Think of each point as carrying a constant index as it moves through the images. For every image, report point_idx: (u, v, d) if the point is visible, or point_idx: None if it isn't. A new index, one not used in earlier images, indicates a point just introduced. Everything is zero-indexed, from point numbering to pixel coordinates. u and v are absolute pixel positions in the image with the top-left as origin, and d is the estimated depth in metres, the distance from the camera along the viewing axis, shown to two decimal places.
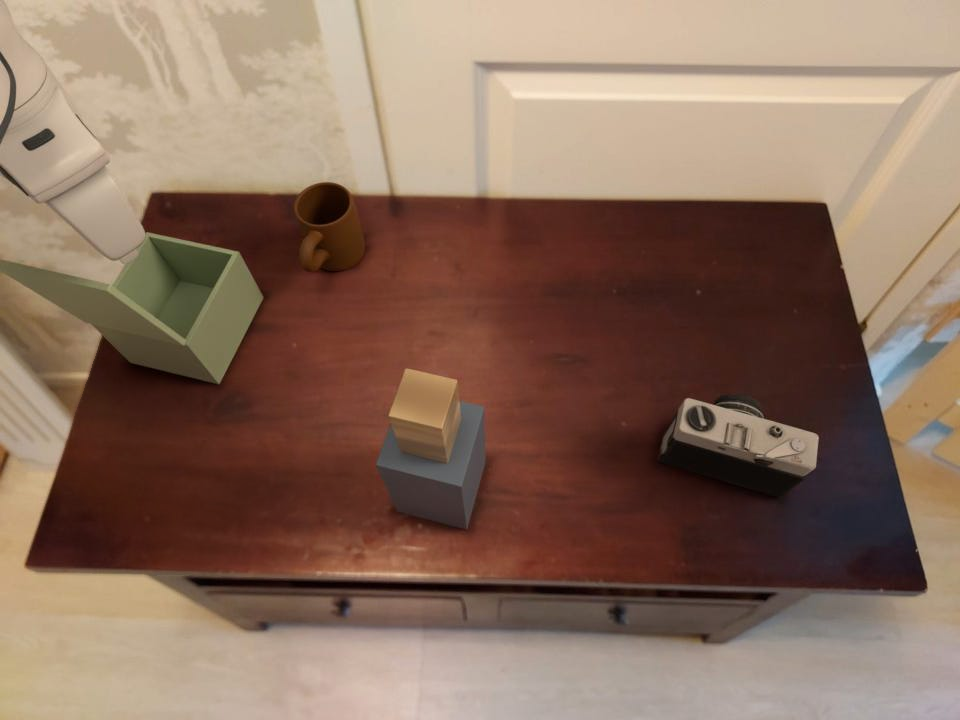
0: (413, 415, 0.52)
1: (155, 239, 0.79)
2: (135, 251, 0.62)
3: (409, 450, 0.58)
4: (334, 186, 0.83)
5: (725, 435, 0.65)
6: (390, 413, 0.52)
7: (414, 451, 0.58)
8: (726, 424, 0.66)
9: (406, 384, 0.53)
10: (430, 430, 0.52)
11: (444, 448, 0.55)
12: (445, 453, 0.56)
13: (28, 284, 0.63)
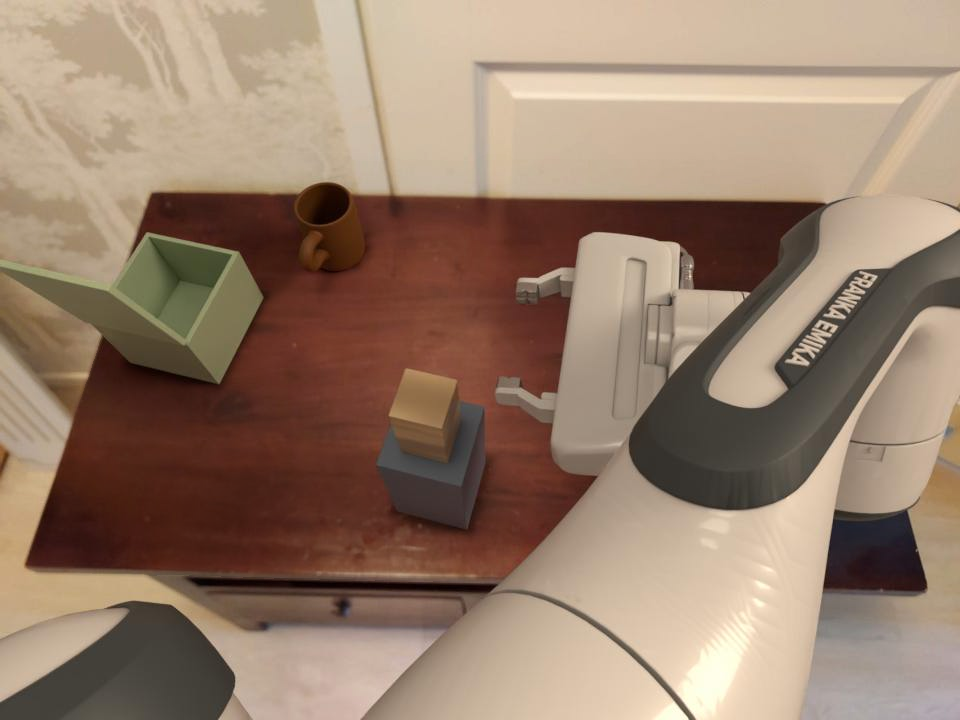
0: (413, 415, 0.52)
1: (155, 239, 0.79)
2: (505, 403, 0.49)
3: (409, 450, 0.58)
4: (334, 186, 0.83)
5: None
6: (390, 413, 0.52)
7: (414, 451, 0.58)
8: None
9: (406, 384, 0.53)
10: (430, 430, 0.52)
11: (444, 448, 0.55)
12: (445, 453, 0.56)
13: (28, 284, 0.63)
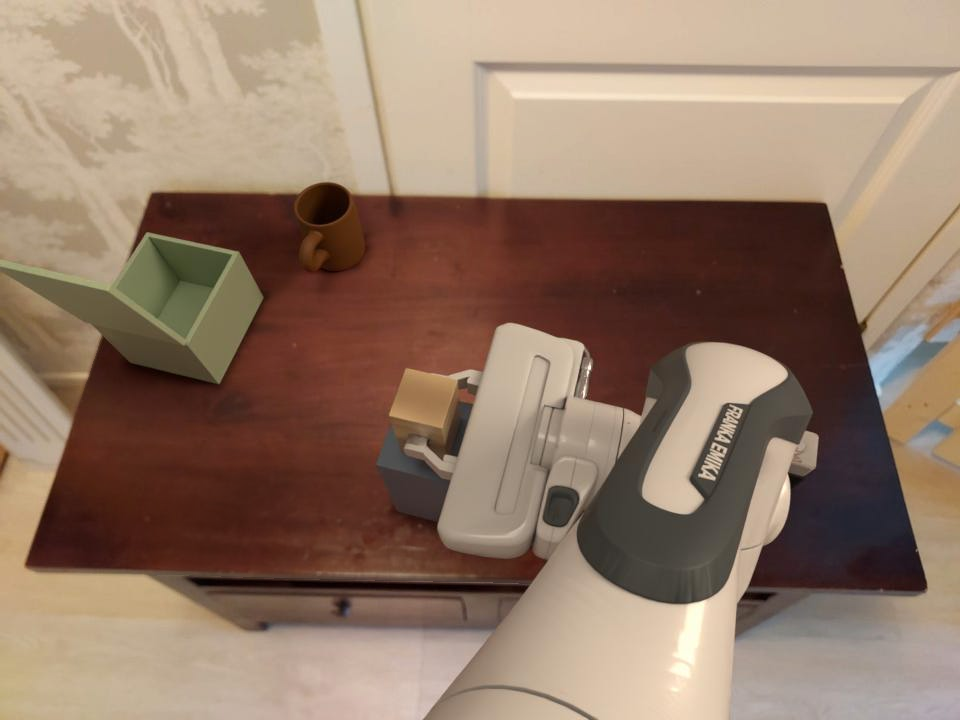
0: (413, 415, 0.52)
1: (155, 239, 0.79)
2: (412, 456, 0.55)
3: None
4: (334, 186, 0.83)
5: None
6: (390, 413, 0.52)
7: None
8: None
9: (406, 384, 0.53)
10: (430, 430, 0.52)
11: (444, 448, 0.55)
12: (445, 453, 0.56)
13: (28, 284, 0.63)
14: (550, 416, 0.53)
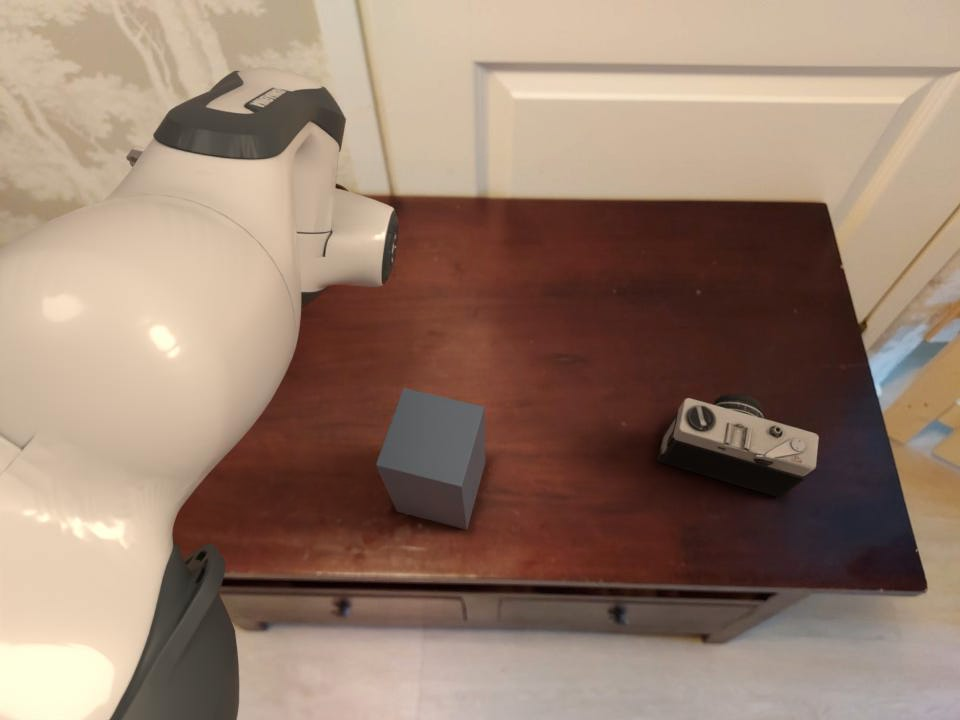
0: None
1: None
2: None
3: None
4: None
5: (725, 435, 0.65)
6: None
7: None
8: (726, 424, 0.66)
9: None
10: None
11: None
12: None
13: None
14: None
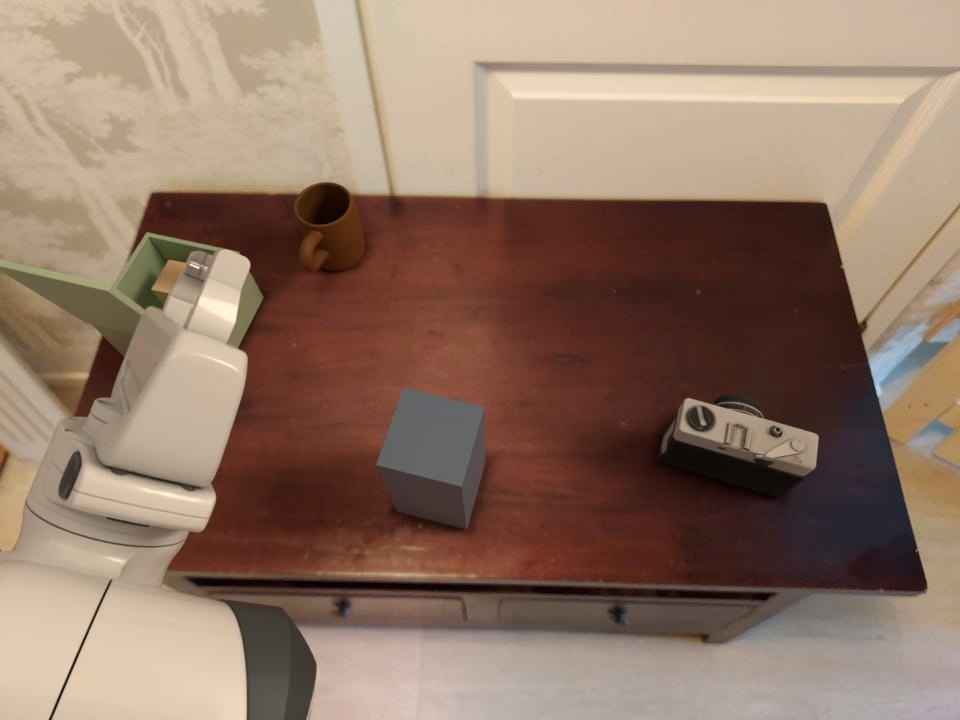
0: (168, 288, 0.76)
1: (155, 239, 0.79)
2: (219, 259, 0.35)
3: None
4: (334, 186, 0.83)
5: (725, 435, 0.65)
6: (152, 287, 0.76)
7: None
8: (726, 424, 0.66)
9: (166, 269, 0.77)
10: None
11: None
12: None
13: (28, 284, 0.63)
14: None
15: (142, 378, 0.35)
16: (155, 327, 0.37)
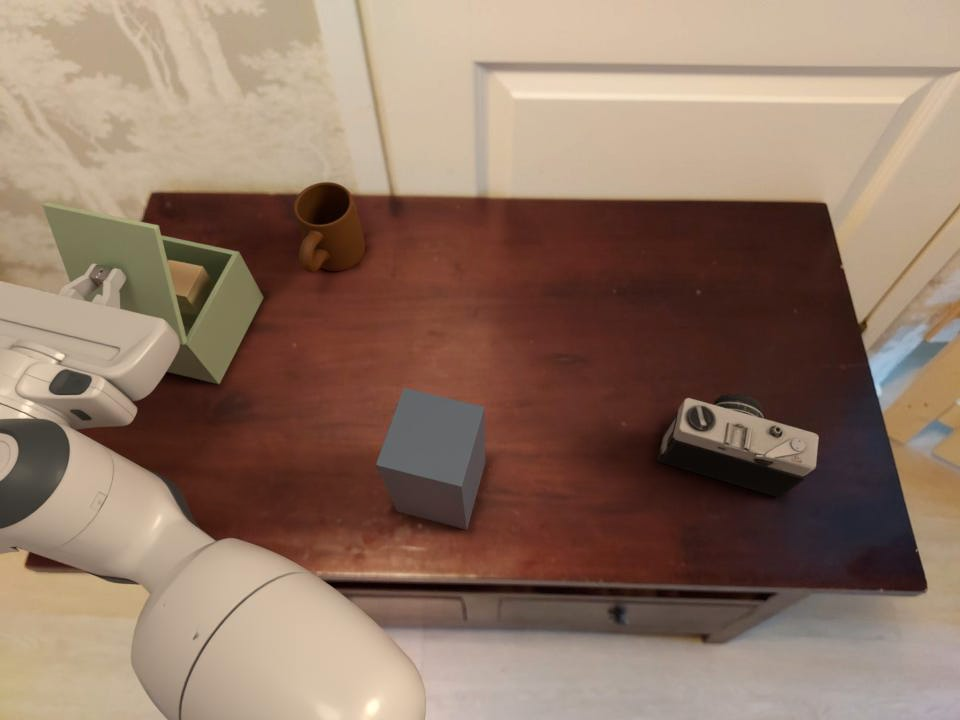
0: None
1: None
2: (116, 273, 0.65)
3: (183, 322, 0.82)
4: (334, 186, 0.83)
5: (725, 435, 0.65)
6: None
7: (186, 323, 0.82)
8: (726, 424, 0.66)
9: None
10: (181, 299, 0.76)
11: None
12: None
13: (64, 241, 0.66)
14: None
15: (95, 335, 0.60)
16: (81, 305, 0.61)
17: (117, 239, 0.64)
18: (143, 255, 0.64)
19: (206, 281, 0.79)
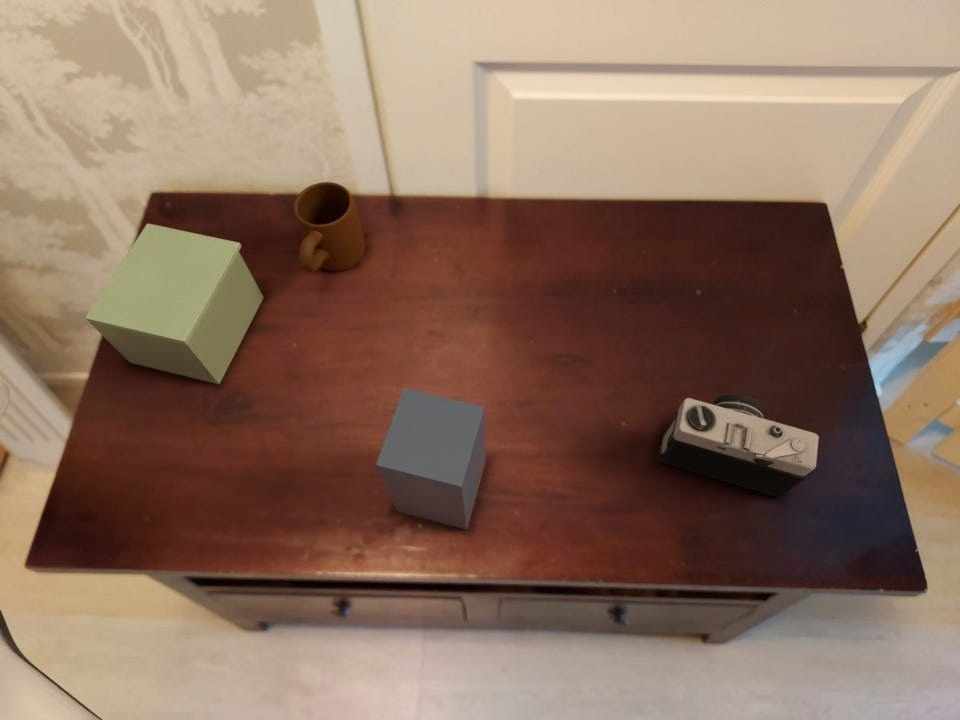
0: None
1: None
2: None
3: None
4: (334, 186, 0.83)
5: (725, 435, 0.65)
6: None
7: None
8: (726, 424, 0.66)
9: None
10: None
11: None
12: None
13: (140, 249, 0.77)
14: None
15: None
16: None
17: (196, 249, 0.77)
18: (211, 261, 0.76)
19: None
